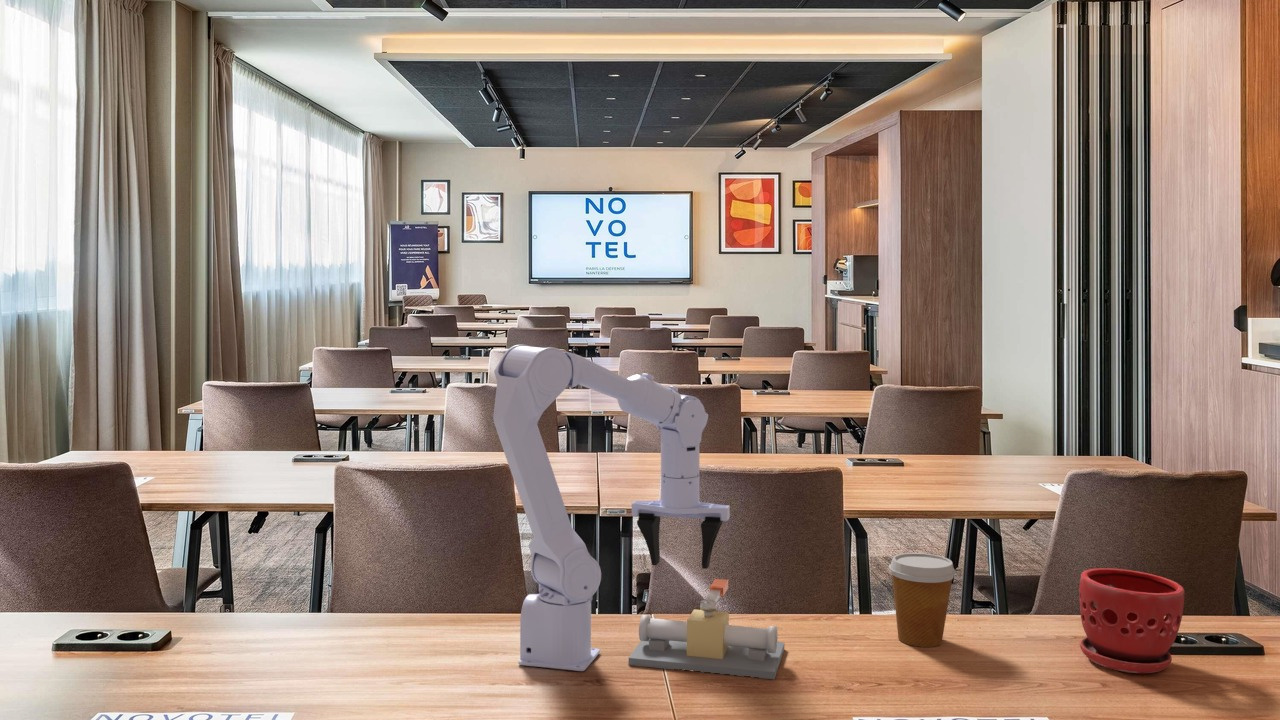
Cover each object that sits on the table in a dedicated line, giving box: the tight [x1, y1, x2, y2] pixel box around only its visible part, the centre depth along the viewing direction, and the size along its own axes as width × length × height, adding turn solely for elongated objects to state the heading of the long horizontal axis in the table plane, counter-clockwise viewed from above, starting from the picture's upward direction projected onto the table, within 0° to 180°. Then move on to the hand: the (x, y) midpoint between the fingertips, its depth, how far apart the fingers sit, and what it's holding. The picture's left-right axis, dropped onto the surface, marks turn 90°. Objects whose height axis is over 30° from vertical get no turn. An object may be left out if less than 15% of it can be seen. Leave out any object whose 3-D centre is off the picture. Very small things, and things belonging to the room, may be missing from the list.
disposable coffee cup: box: [888, 552, 956, 648], centre depth 152 cm, size 10×10×12 cm
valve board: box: [628, 609, 785, 681], centre depth 144 cm, size 20×12×7 cm, turn 76°
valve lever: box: [699, 578, 729, 612], centre depth 148 cm, size 12×2×1 cm, turn 166°
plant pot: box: [1078, 567, 1185, 674], centre depth 143 cm, size 13×13×12 cm
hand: (680, 565), depth 153 cm, fingers open, 7 cm apart
